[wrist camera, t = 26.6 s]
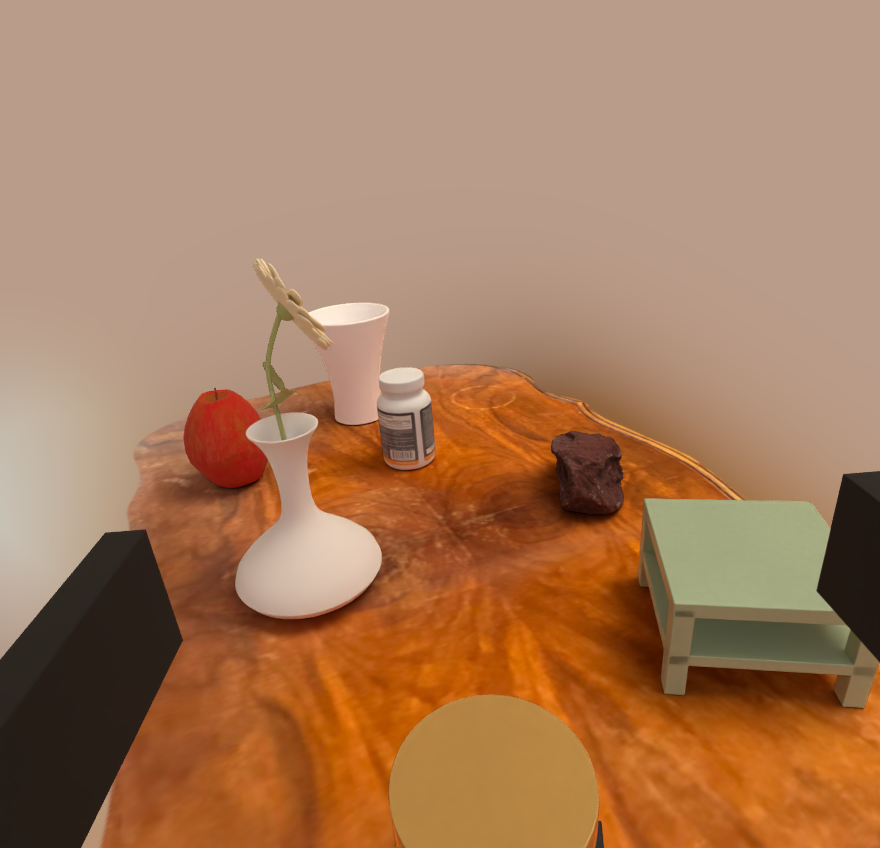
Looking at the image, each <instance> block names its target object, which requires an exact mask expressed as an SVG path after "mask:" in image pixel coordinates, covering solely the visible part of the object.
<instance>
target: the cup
mask: <svg viewBox="0 0 880 848" xmlns="http://www.w3.org/2000/svg"><path fill="white" fill-rule="evenodd" d="M309 314H310V316H312V317H313V318H315V319H316V320H318V321H319V322H320V323H321V324H322V325H323V326H324V328H325V329H326V332H323V331H321V332H323V333H324V334H325V335H326V336H327V337H328V338H329V339H330V340H331V341H332V342H333V345H331V346H330V347H329V346H328V349H327V350H324V349H322V348H321V347H319V346H318V345H317V344H316V343H315V342H314V341H313V342H314V344H315V346H316V348H317V350H318V352H319V354H320V356H321V358H322V360H323V363H324V365H325V368H326V371H327V374H328V377H329V380H330V384H331V388H332V393H333V397H334V407H335V419H336V421H338V422H340V423H343V424H348V425H359V424H365V423H370V422H373V421H376V420H378V412H377V400H378V397H379V396H380V395H381V390H380V388H379V376H380V365H381V353H382V347H383V342H384V336H385V330H386V325H387V320H388V315H389V308H388V307H386V306H385V305H381V304H376V303H349V304H339V305H333V306H328V307H324V308H320V309H317V310H314V311H311V312H309Z"/></svg>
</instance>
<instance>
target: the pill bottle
mask: <svg viewBox="0 0 880 848" xmlns="http://www.w3.org/2000/svg"><path fill="white" fill-rule="evenodd" d="M423 386H424V374H423V372H422V371H421V370H419V369H416V368H409V367H405V368H396V369H391V370H388V371H386V372H383V373H382V374H380V376H379V388H380V390H381V391H382V394H381V395H380V396H379V397H378V400H377V412H378V420H379V427H380V434H381V442H382V449H383V455H384V460H385V462H386V463H387V464H388V465H389V466H390V467H393V468H395V469H400V470H411V469H417V468H421V467H423V466H425V465H427V464H429V463H430V462H431V461H432V460H433V459H434V457H435V441H434V429H433V418H432V407H431V399H430V396H429V394H428V393H427V392H426V391H425V390H424V389H423Z"/></svg>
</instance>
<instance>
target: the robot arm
mask: <svg viewBox="0 0 880 848" xmlns="http://www.w3.org/2000/svg"><path fill="white" fill-rule="evenodd" d="M816 591H817V592H818V593H819V595H820V596H821V597H822V598H823V599H824V600H825V601H826V602H827V604H828V605H829V606H830V607H831V608H832V609H833V610H834V612H835V613H836V614H837V615H838V616H839V617H840V618H841V619H842V621H843V622H844V623H845V624H846V625H847V626H848V627H849V628H850V630H851V631H852V632H853V633H854V634H855V635H856V636H857V637H858V639H859V640H860V641H861V642H862V643H863V644H864V645H865V647H866V648H867V649H868V650H869V651H870V652H871V653H872V654H873V656H874V657H875V658H876V659H877V660H878V661H879V662H880V471H877V472H864V473H852V474H843V478H842V482H841V486H840V490H839V495H838V499H837V503H836V508H835V512H834V516H833V521H832V525H831V529H830V534H829V538H828V542H827V547H826V551H825V555H824V560H823V564H822V568H821V573H820V577H819V581H818V586H817V590H816ZM182 641H183V639H182V636H181V633H180V630H179V627H178V624H177V621H176V618H175V615H174V612H173V609H172V606H171V604H170V601H169V598H168V595H167V592H166V589H165V586H164V583H163V580H162V577H161V574H160V571H159V568H158V565H157V562H156V559H155V556H154V553H153V550H152V547H151V544H150V541H149V538H148V535H147V532H146V530H134V531H122V532H109V533H105V534H104V535H103V536H102V537H101V539H100V540H99V541H98V542H97V543H96V545H95V546H94V547H93V548H92V550H91V551H90V552H89V553H88V554H87V556H86V557H85V558H84V559H83V560H82V562H81V563H80V564H79V565H78V567H77V568H76V569H75V570H74V571H73V573H72V574H71V575H70V576H69V577H68V578H67V580H66V581H65V582H64V583H63V585H62V586H61V587H60V588H59V589H58V591H57V592H56V593H55V594H54V595H53V597H52V598H51V599H50V600H49V602H48V603H47V604H46V605H45V606H44V607H43V609H42V610H41V611H40V612H39V614H38V615H37V616H36V617H35V618H34V620H33V621H32V622H31V623H30V624H29V626H28V627H27V628H26V629H25V630H24V632H23V633H22V634H21V635H20V637H19V638H18V639H17V640H16V641H15V643H14V644H13V645H12V646H11V647H10V649H9V650H8V651H7V652H6V653H5V655H4V656H3V657H2V658H1V659H0V848H81V847H82V845H83V843H84V841H85V838H86V836H87V835H88V833H89V831H90V828H91V826H92V824H93V822H94V820H95V818H96V816H97V814H98V812H99V810H100V808H101V806H102V804H103V802H104V800H105V798H106V796H107V794H108V792H109V790H110V788H111V786H112V784H113V782H114V780H115V777H116V775H117V773H118V771H119V769H120V767H121V765H122V763H123V761H124V759H125V757H126V755H127V753H128V751H129V749H130V747H131V745H132V743H133V741H134V739H135V737H136V735H137V733H138V731H139V728H140V726H141V724H142V722H143V720H144V718H145V716H146V714H147V712H148V710H149V708H150V706H151V704H152V702H153V700H154V698H155V696H156V694H157V692H158V690H159V688H160V686H161V684H162V682H163V679H164V677H165V675H166V673H167V671H168V669H169V667H170V665H171V663H172V661H173V659H174V657H175V655H176V653H177V651H178V649H179V647H180V645H181V643H182Z"/></svg>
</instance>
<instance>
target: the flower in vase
mask: <svg viewBox="0 0 880 848" xmlns="http://www.w3.org/2000/svg"><path fill="white" fill-rule="evenodd" d="M256 262H257V264H256V263H254V262H253V266H254V269H255V271H256V274H257V276H258V277H259V279H260V281H261V282H262V283H263V285H264V286H265V288H266V289H267V290H268V292H269V293H270V294H271V295H272V297H273V298H274V299H275V301H276V302H277V303H278V306H277V316H276V319H275V322H274V325H273V329H272V332H271V336H270V340H269V344H268V349H267V354H266V362H263V367H264V369H265V371H266V376H267V382H268V387H269V392H270V396H271V400H272V401H271V402H270V403H268V404H267V405H266V406H264V407H263V409H267V408H271V407H273V408H274V412H275V415H273V416H269V417H266V418H264V419H261V420H259V421H257V422H255V423H254V424H252V425H251V426H250V427H249V428H248V429H247V431H246V436H247V438H248V439H249V440H250V441H252V442H253V443H254V444H256V445H257V446H258V447H259V448H260V449H261V450H262V451H263V453H264V454H265V456H266V457H267V459H268V461H269V463H270V465H271V467H272V469H273V472H274V475H275V478H276V481H277V484H278V488H279V492H280V497H281V504H282V513H281V516H280V519H279V520H278V521H277V522H276V523H275V524H274V525H273V526H272V527H271V528H269V529H268V530H267V531H266V532H265V533H264V534H262V535H261V536H260V537H259V538H258V539H257V540H256V541H255V542H254V543H253V544H252V545H251V547H250V548H249V549H248V550H247V552H246V553H245V554H244V556H243V557H242V559H241V561H240V563H239V565H238V569H237V574H236V579H235V587H236V591H237V594H238V596H239V597H240V599H241V600H242V601H243V602H244V603H245V604H246V605H247V606H249V607H250V608H252V609H254V610H256V611H257V612H259V613H261V614H263V615H266V616H269V617H274V618H280V619H303V618H309V617H314V616H318V615H322V614H325V613H328V612H331V611H334V610H336V609H338V608H341V607H343V606H344V605H346V604H348V603H350V602H351V601H353V600H354V599H356V598H357V597H358V596H359V595H361V594H362V593H363V592H364V591H365V590H366V589H367V588H368V587H369V585H370V584H371V583H372V581H373V580H374V578H375V576H376V575H377V573H378V571H379V569H380V565H381V561H382V554H381V549H380V546H379V545H378V543H377V542H376V540H375V538H374V537H373V535H372V534H371V533H370V532H369V531H368V530H367V529H365V528H364V527H362V526H360V525H358V524H356V523H355V522H353V521H351V520H348V519H346V518H343V517H340V516H336V515H333V514H329V513H326V512H323V511H321V510H319V509H318V508H317V506H316V505H315V503H314V501H313V498H312V494H311V490H310V485H309V478H308V465H307V458H308V447H309V443H310V439H311V437H312V435H313V433H314V431H315V429H316V428H317V426H318V420H317V418H316V417H314V416H313V415H310V414H306V413H297V412H294V413H282V414H280V412H279V408H278V404H279V403H281V402H282V401H283V400H285V399H286V398H287V397H289V396H290V395H291V394H293V393H295V392H296V390H295V391H292V390H288V389H285V387H284V383H283V381H282V380H281V378H280V377H279V376H278V375H277V373H276V372H275V370H274V368H273V367H272V366H271V364H270V363H271V355H272V349H273V345H274V341H275V338H276V334H277V331H278V327H279V324H280V321H281V319H282V320H286V321H289V320H293V322H294V323H295V324H296V325H297V326H298V327H299V328H300V329H301V330H302V331H303V332H304V333H305V334H306V335H307V336H308V337H309V338H310V339H311V340H312V341H314V342H315V343H316V344H317V345H318V346H319V347H321V348H322V349H324V350H327V349H328V346H329V347H330V346H331V345H333V342H332V341H331V340H330V339H329V338H328V337H327V336H326V335H325V334H324V333H323V332H326V329H325V328H324V326H323V325H322V324H321V323H320V322H319V321H318V320H316V319H315V318H313V317H312V316H310V314H309V313H308V312H307V311H306V310H305V309H304V308H302V307H301V306H302V303H303V301H302V298H301V297H300V295H299V294H298V293H297V292H296V291H295V290H294V289H290V290H289V291H288V293H287V291H286V288H285V286H284V284H283V282H282V281H281V279H280V277H279V275H278V273H277V272H276V270H275V269H274V267H273V266H272V265H271V264H270V263H268V267H267V265H266V264H265V262H264V261H263V260H262V259H261V258H260V260H259V259H258V258H256ZM321 331H323V332H321ZM272 382H273V383H274V385H275V386H277V388H278V389H279V390H281V392H280V393H279V395H278V396H277V398H276V397H275V393H274V389H273V384H272Z"/></svg>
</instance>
